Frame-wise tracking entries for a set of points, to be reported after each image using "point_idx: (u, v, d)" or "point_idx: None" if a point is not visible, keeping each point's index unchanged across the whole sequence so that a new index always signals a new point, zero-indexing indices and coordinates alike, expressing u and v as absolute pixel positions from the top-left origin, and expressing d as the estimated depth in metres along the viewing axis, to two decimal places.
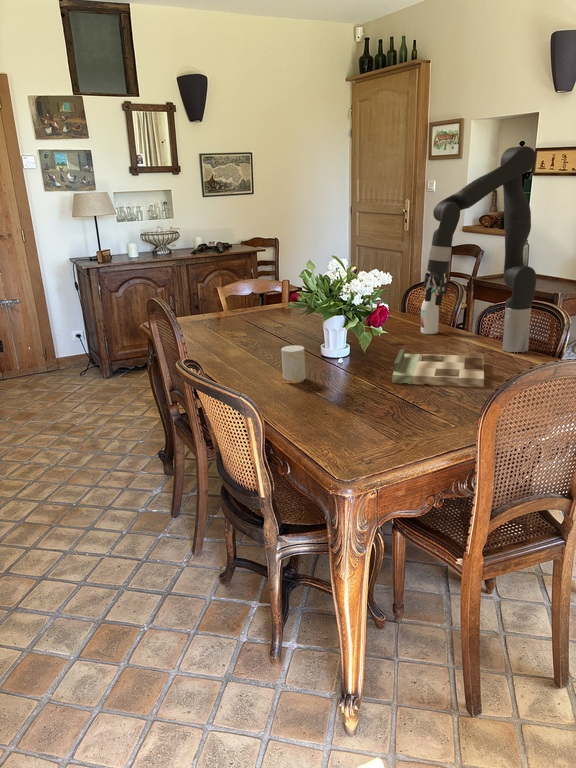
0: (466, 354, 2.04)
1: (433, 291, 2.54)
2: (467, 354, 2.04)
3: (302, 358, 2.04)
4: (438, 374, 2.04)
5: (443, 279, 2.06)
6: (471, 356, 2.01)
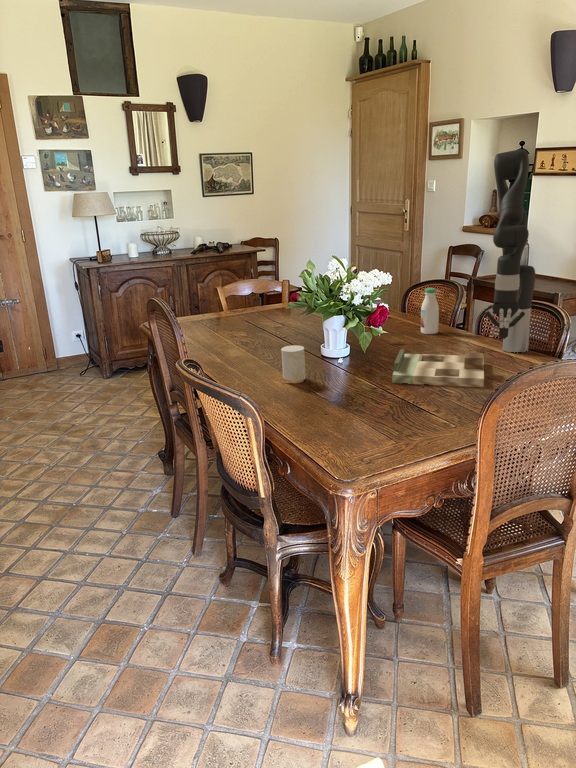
0: (466, 354, 2.04)
1: (433, 291, 2.54)
2: (467, 354, 2.04)
3: (302, 358, 2.04)
4: (438, 374, 2.04)
5: None
6: (471, 356, 2.01)
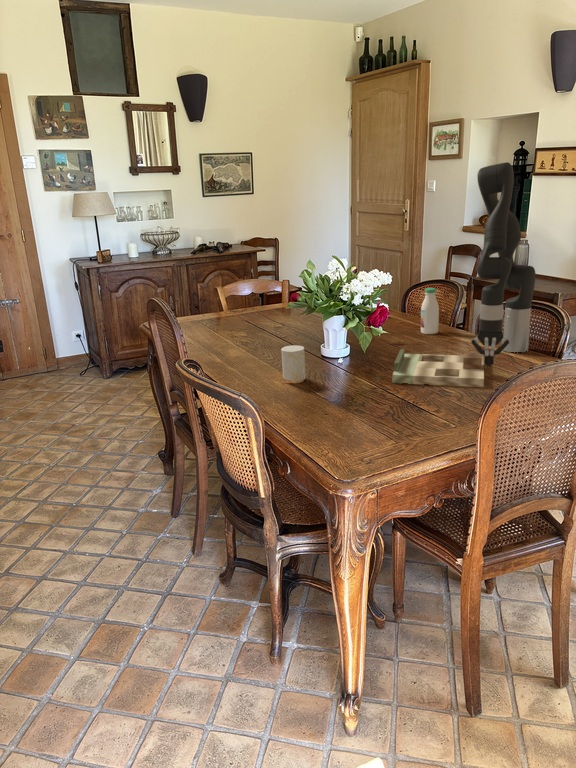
0: (465, 354, 2.04)
1: (433, 291, 2.54)
2: (466, 354, 2.04)
3: (302, 358, 2.04)
4: (438, 374, 2.04)
5: None
6: (470, 356, 2.01)
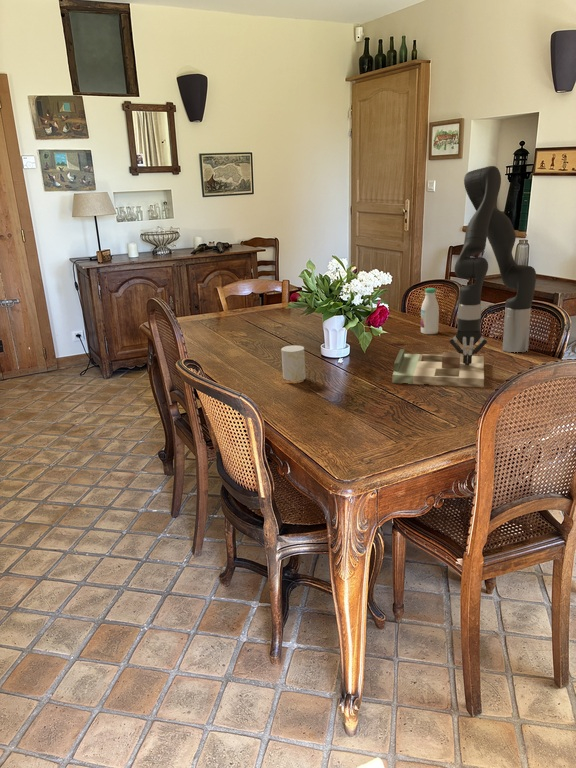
0: (444, 353, 2.06)
1: (433, 291, 2.54)
2: (445, 353, 2.06)
3: (302, 358, 2.04)
4: (438, 374, 2.04)
5: None
6: (449, 355, 2.04)
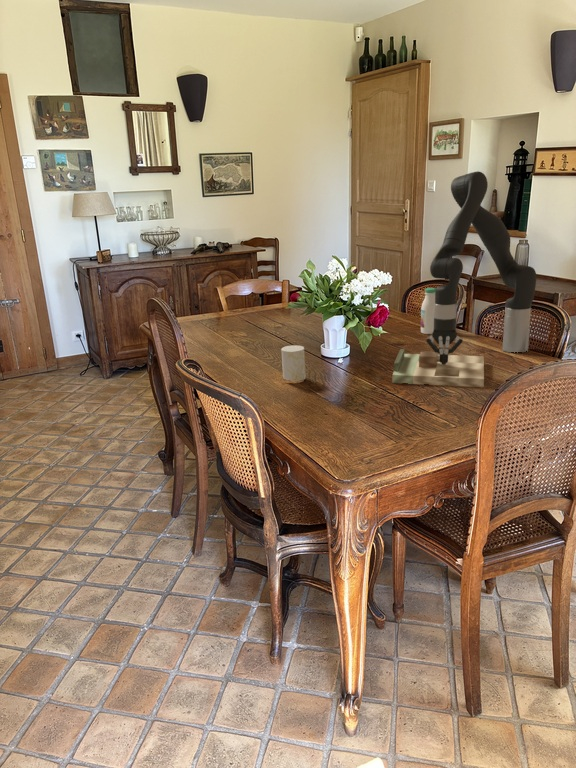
0: (421, 353, 2.08)
1: (433, 291, 2.54)
2: (422, 353, 2.08)
3: (302, 358, 2.04)
4: (438, 374, 2.04)
5: (461, 342, 2.01)
6: (425, 355, 2.06)
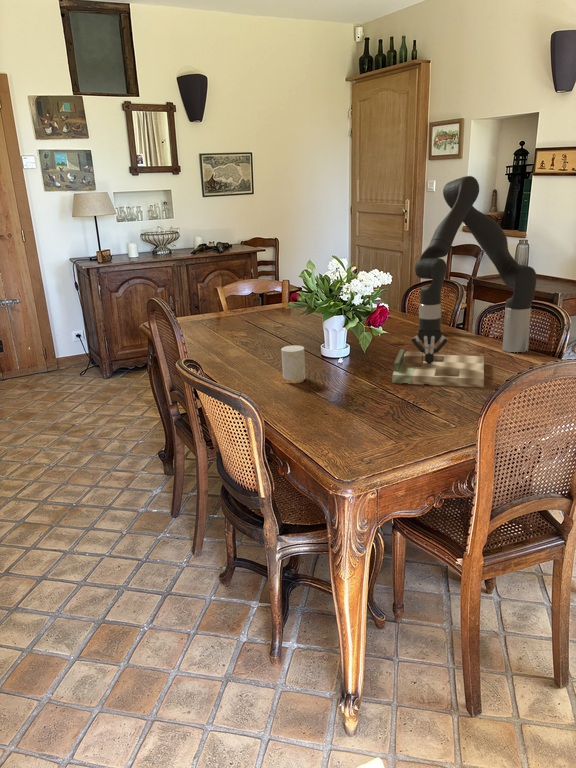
0: (407, 352, 2.10)
1: None
2: (408, 352, 2.10)
3: (302, 358, 2.04)
4: (438, 374, 2.04)
5: (446, 341, 2.02)
6: (411, 354, 2.07)
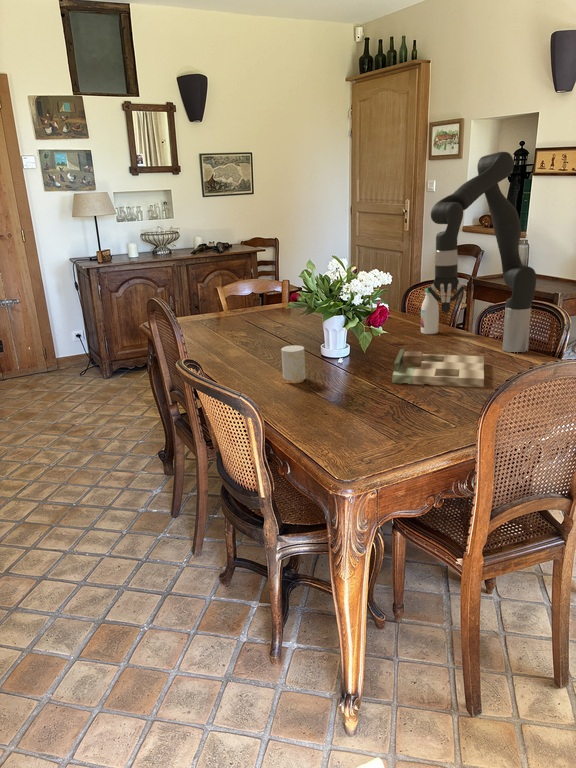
0: (405, 352, 2.10)
1: None
2: (406, 352, 2.10)
3: (302, 358, 2.04)
4: (438, 374, 2.04)
5: (463, 289, 1.99)
6: (410, 354, 2.07)
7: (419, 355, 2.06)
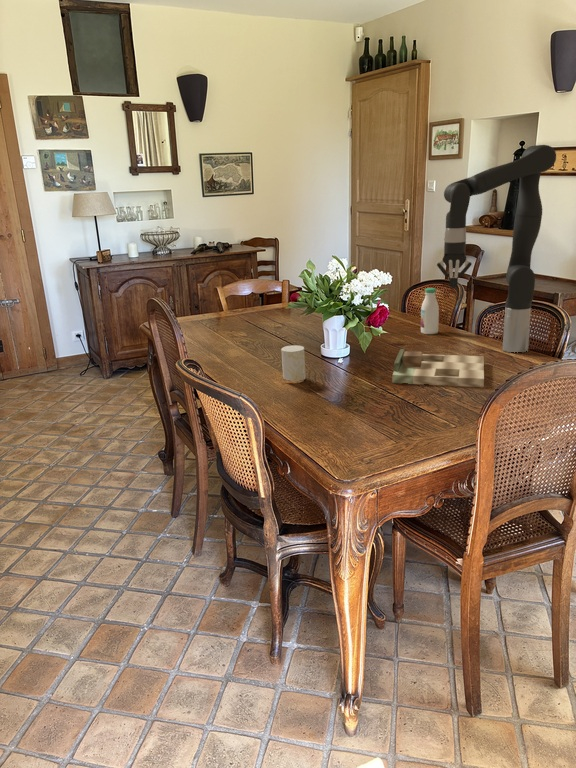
0: (405, 352, 2.10)
1: (433, 291, 2.54)
2: (406, 352, 2.10)
3: (302, 358, 2.04)
4: (438, 374, 2.04)
5: None
6: (410, 354, 2.07)
7: (419, 355, 2.06)
